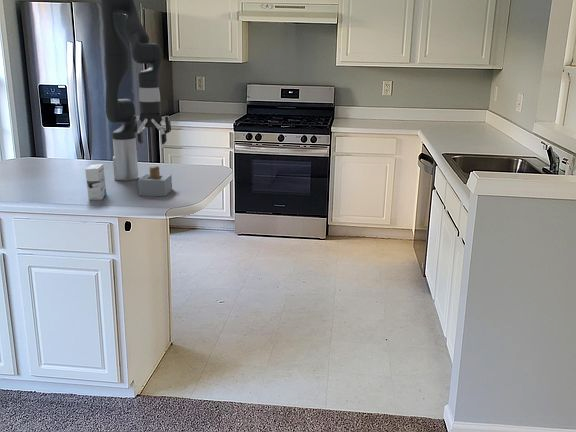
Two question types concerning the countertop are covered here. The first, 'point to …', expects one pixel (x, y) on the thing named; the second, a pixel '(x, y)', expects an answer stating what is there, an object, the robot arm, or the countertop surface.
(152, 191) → the socket block
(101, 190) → the ink box
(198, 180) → the countertop surface
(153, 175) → the walnut dowel
